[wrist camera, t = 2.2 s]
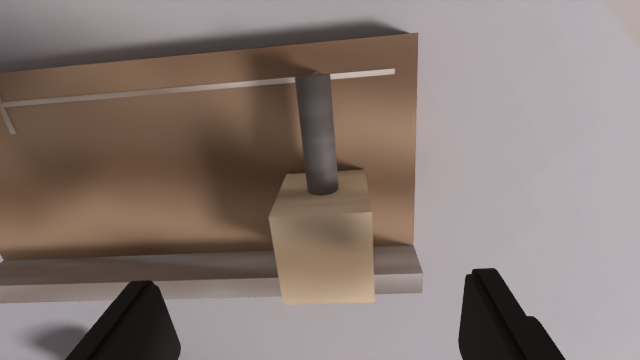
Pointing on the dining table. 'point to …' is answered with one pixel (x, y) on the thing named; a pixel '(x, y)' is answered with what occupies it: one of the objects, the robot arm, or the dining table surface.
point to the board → (193, 168)
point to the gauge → (322, 214)
